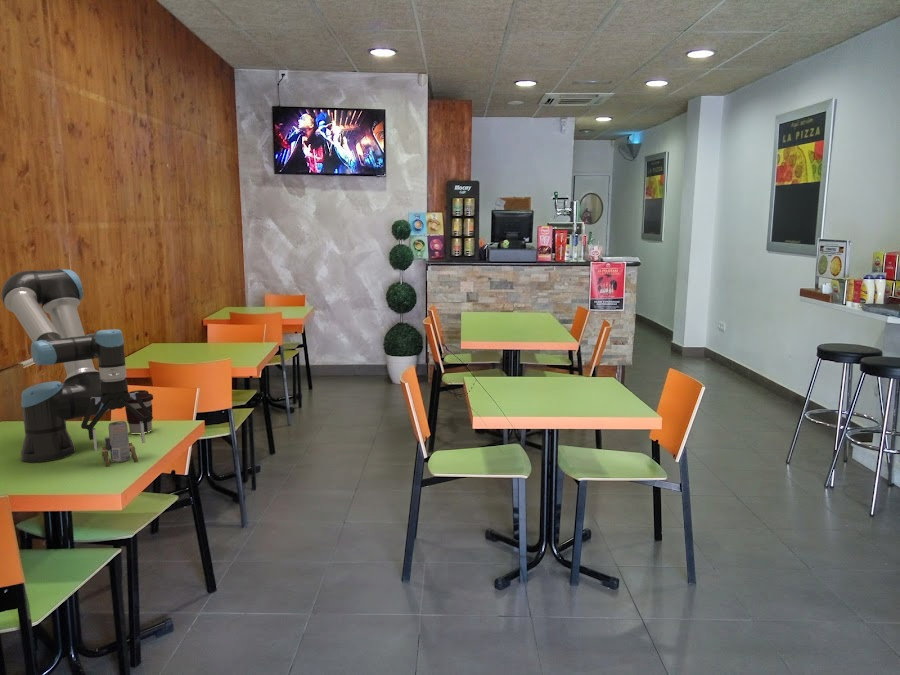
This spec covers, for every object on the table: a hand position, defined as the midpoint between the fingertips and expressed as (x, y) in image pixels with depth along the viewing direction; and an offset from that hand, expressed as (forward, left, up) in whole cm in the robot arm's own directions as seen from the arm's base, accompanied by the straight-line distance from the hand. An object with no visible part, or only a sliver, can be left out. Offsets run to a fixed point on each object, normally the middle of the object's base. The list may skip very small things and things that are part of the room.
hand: (120, 445), depth 219 cm
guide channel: (0, +5, -5) cm, 7 cm away
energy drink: (0, 0, -5) cm, 5 cm away
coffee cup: (+9, +32, -5) cm, 34 cm away
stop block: (0, +15, -5) cm, 16 cm away
